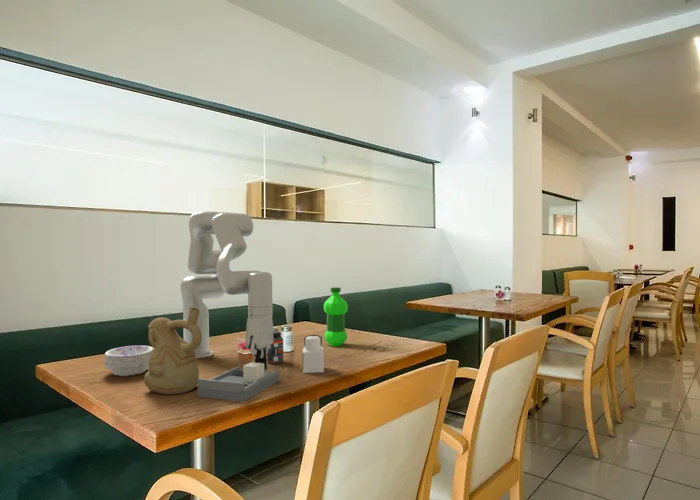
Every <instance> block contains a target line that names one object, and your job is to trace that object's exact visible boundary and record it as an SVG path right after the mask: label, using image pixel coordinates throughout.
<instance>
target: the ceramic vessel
mask: <svg viewBox="0 0 700 500" xmlns="http://www.w3.org/2000/svg"><path fill="white" fill-rule="evenodd" d="M199 312H200V310H199V309H198V308H190V309H189V316H188V320H183V319H175V320H174V319H173V320H171V319H170V318H168V317H164V316H163V317H162V316H161V317H156V318H154V319H153V320H151V322H150V323H149V324H148V325H147V328H148V335H147V339H148V342H149V344H150V345H151V346H150V347H153V349H154V350H153V352H152V353H151V355H150V358H149V364H148V371H147V372H146V373H145V374H144V377H143V382H144V385H145V387H146V388H147V389H148V390H149V391H151V390H152V391H151V392H155V393H158V394H163V395H177V394H184V393H186V392H190V391H192V390H194V389H195V388H197V387H198V380H197V379H200V368H199V363H198V359H197V358H196V353H195V350H196V349H197V348H198V347H199V345H200V343H201V338H202V337H201V331H200V329H199V327H198V326H197V325H196V324H197V319H198V315H199ZM179 328H180V329H184V328H185V329H188V330H189V331H190V332H191V333H192V341H191V342H190V343H187V342H186V341H185V340H184V338H183V337H181V335H179V333H178V332H177V329H179Z"/></svg>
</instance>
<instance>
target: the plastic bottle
mask: <svg viewBox="0 0 700 500" xmlns="http://www.w3.org/2000/svg"><path fill="white" fill-rule="evenodd" d="M341 289H342V288H341V287H339V286H338V287H336V286H334V287H330V292H331V296H329V298H327V300H325V302H324V304H323V311H324V313H326V331H325V333H324V339H325V341H326V343H327V344H328V345H329V346H330V345H331V347H342V345H343V344H345V342H346V341H347V339H348V333H347V331H346V313H347V312H348V309H349V305H348V303H347V302H348V301H346V300H345V299H344V298H343V297H341V296H340V293H341Z"/></svg>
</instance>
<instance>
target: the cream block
mask: <svg viewBox="0 0 700 500" xmlns="http://www.w3.org/2000/svg"><path fill="white" fill-rule="evenodd" d="M242 369H243V381H248V382H256V381H258V380H259V379H261V378H263V377H264V371H265V370H264V363H255V361H254V362H253V361H251V362H249V363H246V364H244V365H242Z"/></svg>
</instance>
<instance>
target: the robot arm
mask: <svg viewBox="0 0 700 500" xmlns="http://www.w3.org/2000/svg"><path fill="white" fill-rule="evenodd" d="M188 229H189V235H190V244H189V249H188V250H189V251H188V259H187V268H188V272H189V273H191V274H192V275H190V276H186V277H185V278H184V279H183V280H182V281H181V282H180V294H181V299H182V307H183V314H182V315H183V319H182V320H188V316H189V309H190V308H198V309H199V310H200V312H199V315H198V319H197V324H196V325H197V326H198V327H199V329H200V331H201V337H202V338H201V343H200V345H199V347H198V348H197V349H196V350H195V353H196V358H197V360H198V359H204V358H208V357H212V355H213V354H214V351H213V350H211V349H210V347H209V346H210V326H209V324H210V322H209V319H210V318H209V315H210V313H209V309H208V306H207V305H206V304H205V303H204V301H205V300H210V299H211V300H213V299H219V298H222V297H223V296H224V295H225V294H227V295H229V296H236V295H238V296H239V295H247V309H248V310H247V316H248V317H247V320H246V325H245V326H246V327H245V328H246V329H245V348H246V350H250V351H249V353H250V355H253V357H254V363H264V371H266V370H267V369H268V367H267V366H268V362H267V354H268V349H269V348H270V347H271V344H272V343H273V331H274V322H273V275H272V274H271V272H268V271H267V272H266V271H260V270H236V271H234V270H231V268H230V262H231V261H234V260H235V259H238V258H239V257H241V256H242V255H243V254H244V253H245V252H246V250H247V248H248V245H247V243H246V240H245V238H247V237H249V236H251V235H252V233H253V231H254V222H253V220H252V218H251V217H250V216H249V214H246V213H239V212H238V213H237V212H224V211H223V212H221V211H209V210H207V211H206V210H205V211H203V210H202V211H201V210H200V211H195V212H193V213H192V214H191V215H190V217H189V219H188ZM213 235H215V238H216V240H217V243H218V245H219V248H220V249H214V238H213ZM244 237H245V238H244ZM193 274H194V275H193ZM203 300H204V301H203ZM183 340H185V341H186V342H187V343H190V342H191V341H192V333H191V332H190V331H189V330H188V329H185V328H183Z"/></svg>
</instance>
